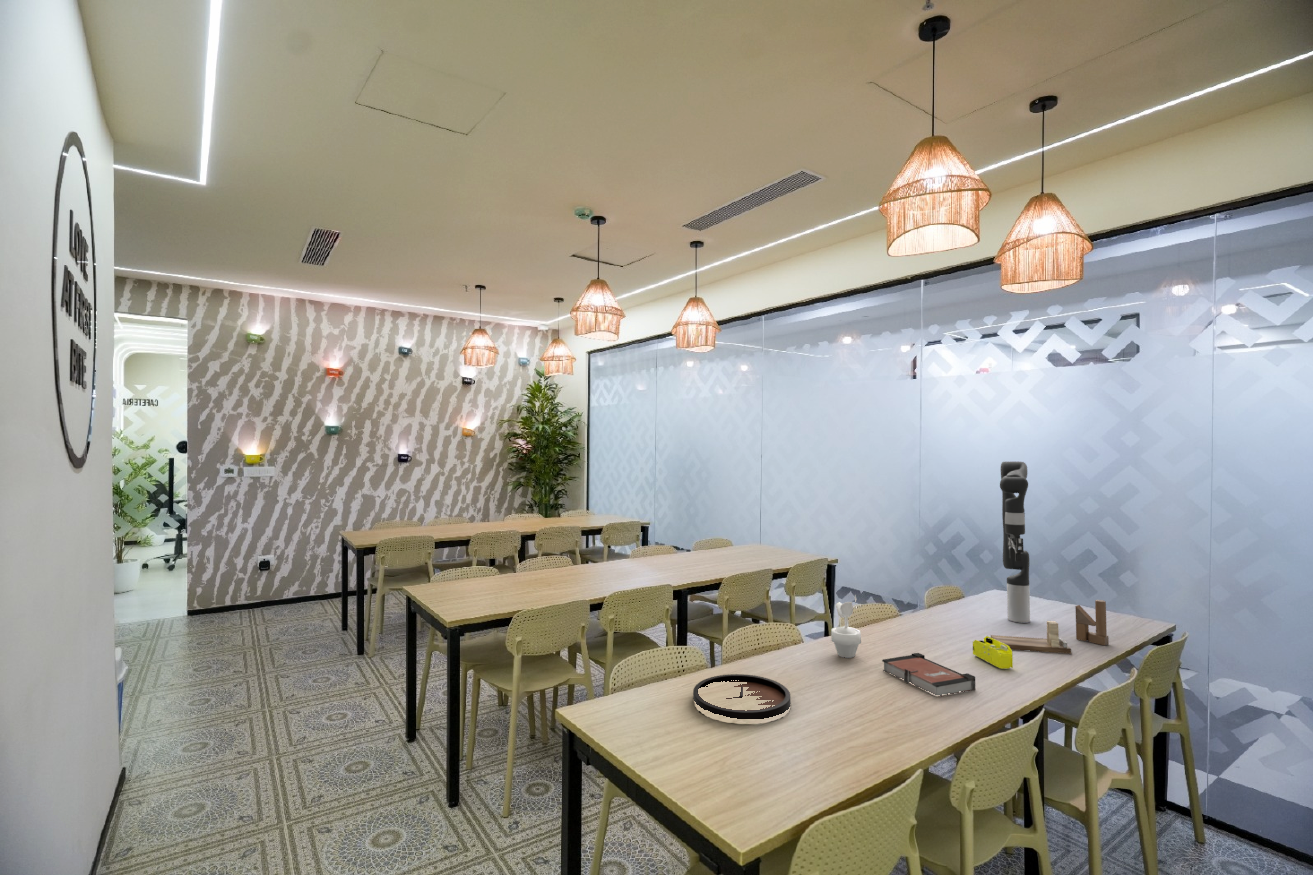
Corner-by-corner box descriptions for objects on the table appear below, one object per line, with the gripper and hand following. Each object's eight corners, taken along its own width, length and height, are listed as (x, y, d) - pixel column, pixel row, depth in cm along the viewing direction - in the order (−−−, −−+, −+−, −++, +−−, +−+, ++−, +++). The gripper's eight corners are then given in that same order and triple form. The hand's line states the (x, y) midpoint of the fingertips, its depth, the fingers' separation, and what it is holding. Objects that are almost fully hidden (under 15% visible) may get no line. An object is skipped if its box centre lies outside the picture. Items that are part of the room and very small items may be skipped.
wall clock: (759, 722, 176) (673, 695, 196) (759, 736, 176) (674, 707, 196) (807, 688, 200) (726, 667, 220) (807, 700, 200) (726, 678, 220)
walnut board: (990, 639, 260) (990, 630, 260) (1060, 644, 253) (1060, 634, 253) (998, 648, 248) (998, 638, 248) (1071, 653, 241) (1071, 643, 241)
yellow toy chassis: (1013, 670, 225) (1013, 647, 225) (999, 670, 224) (999, 648, 224) (985, 655, 241) (985, 634, 241) (972, 656, 240) (971, 635, 240)
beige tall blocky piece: (1045, 641, 251) (1044, 619, 251) (1053, 642, 250) (1053, 620, 250) (1051, 646, 244) (1050, 624, 244) (1060, 647, 243) (1059, 624, 243)
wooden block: (1079, 637, 261) (1078, 595, 261) (1109, 644, 252) (1107, 600, 252) (1075, 639, 259) (1074, 597, 259) (1105, 646, 250) (1104, 602, 250)
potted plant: (865, 660, 236) (864, 596, 237) (835, 660, 236) (834, 596, 237) (855, 649, 249) (854, 588, 249) (827, 650, 249) (826, 588, 250)
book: (880, 672, 225) (880, 658, 226) (918, 665, 231) (918, 652, 231) (935, 699, 201) (934, 683, 201) (975, 691, 207) (975, 676, 207)
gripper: (1029, 525, 256) (1030, 563, 256) (1019, 521, 270) (1020, 557, 270) (1009, 524, 258) (1010, 563, 258) (1000, 520, 272) (1001, 557, 272)
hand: (1015, 560), depth 264 cm, fingers open, 8 cm apart
